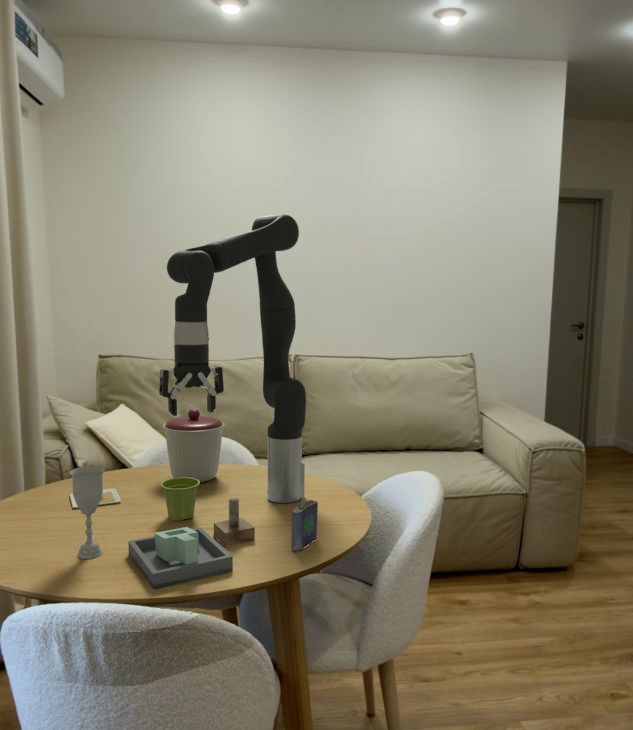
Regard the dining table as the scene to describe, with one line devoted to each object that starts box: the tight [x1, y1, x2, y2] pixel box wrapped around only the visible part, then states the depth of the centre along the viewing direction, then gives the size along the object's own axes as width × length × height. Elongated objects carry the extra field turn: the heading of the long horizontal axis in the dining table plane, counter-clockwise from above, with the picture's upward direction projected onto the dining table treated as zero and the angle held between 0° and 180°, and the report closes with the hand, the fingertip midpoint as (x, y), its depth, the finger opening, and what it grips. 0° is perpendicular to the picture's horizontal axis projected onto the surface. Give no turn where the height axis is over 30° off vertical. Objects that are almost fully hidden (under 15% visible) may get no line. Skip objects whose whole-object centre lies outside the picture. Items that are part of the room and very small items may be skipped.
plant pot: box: [160, 477, 201, 522], centre depth 154 cm, size 9×9×9 cm
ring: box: [154, 526, 200, 564], centre depth 127 cm, size 7×12×4 cm, turn 31°
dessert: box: [69, 488, 122, 509], centre depth 167 cm, size 12×12×5 cm
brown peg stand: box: [213, 497, 256, 547], centre depth 141 cm, size 7×7×9 cm
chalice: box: [69, 465, 105, 560], centre depth 131 cm, size 7×7×18 cm
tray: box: [127, 526, 234, 590], centre depth 128 cm, size 16×18×3 cm
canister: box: [162, 408, 226, 483], centre depth 185 cm, size 18×18×21 cm
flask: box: [290, 496, 319, 552], centre depth 138 cm, size 9×3×11 cm, turn 151°
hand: (192, 413), depth 141 cm, fingers open, 8 cm apart
